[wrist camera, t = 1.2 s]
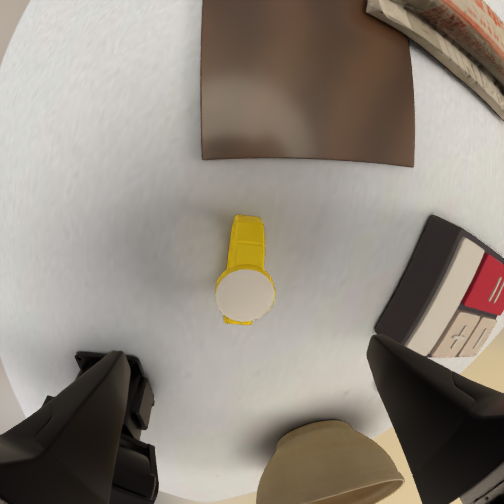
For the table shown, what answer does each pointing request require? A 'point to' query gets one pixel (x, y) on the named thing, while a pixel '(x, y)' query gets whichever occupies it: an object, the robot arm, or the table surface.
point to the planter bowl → (328, 468)
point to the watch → (245, 274)
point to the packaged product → (454, 39)
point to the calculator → (446, 294)
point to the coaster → (304, 82)
